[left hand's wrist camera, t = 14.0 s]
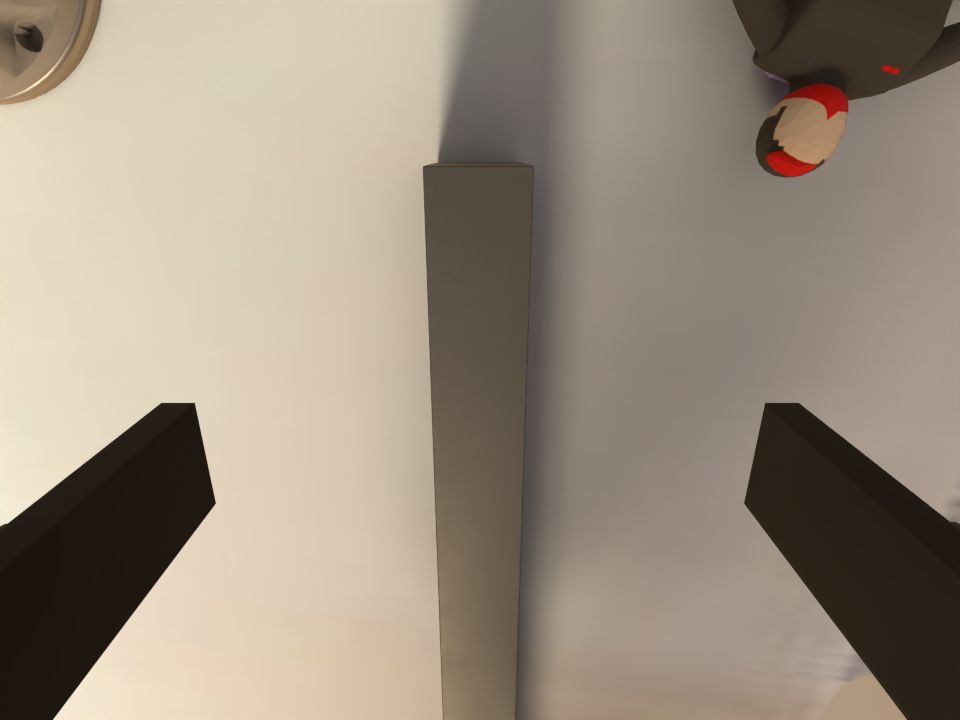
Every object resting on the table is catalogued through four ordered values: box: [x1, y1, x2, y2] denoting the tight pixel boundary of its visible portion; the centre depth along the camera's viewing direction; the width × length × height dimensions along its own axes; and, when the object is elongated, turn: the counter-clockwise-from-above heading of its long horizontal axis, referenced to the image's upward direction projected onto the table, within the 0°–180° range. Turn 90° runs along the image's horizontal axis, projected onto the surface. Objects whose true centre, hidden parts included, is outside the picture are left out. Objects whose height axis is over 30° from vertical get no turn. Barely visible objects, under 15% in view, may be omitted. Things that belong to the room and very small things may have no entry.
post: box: [423, 163, 534, 720], centre depth 40 cm, size 68×5×8 cm, turn 0°
